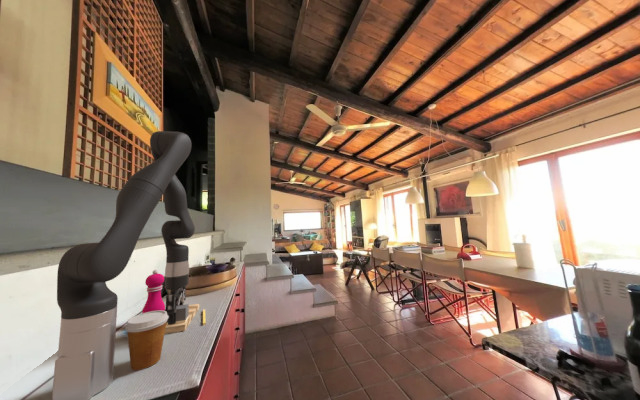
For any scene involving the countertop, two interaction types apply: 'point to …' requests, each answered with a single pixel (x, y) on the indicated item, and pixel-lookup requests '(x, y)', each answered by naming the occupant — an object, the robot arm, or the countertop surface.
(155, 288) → the pepper mill
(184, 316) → the sanding block
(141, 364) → the disposable coffee cup
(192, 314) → the board
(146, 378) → the countertop surface
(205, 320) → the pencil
